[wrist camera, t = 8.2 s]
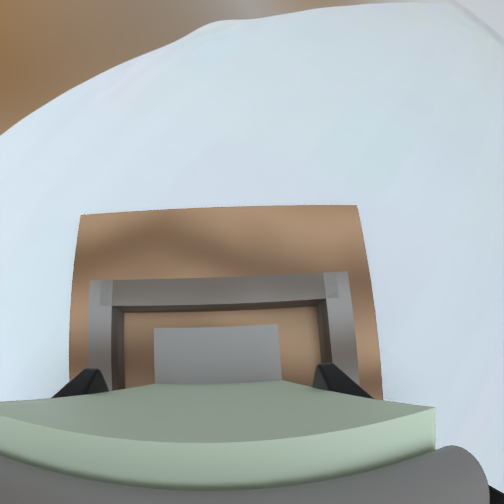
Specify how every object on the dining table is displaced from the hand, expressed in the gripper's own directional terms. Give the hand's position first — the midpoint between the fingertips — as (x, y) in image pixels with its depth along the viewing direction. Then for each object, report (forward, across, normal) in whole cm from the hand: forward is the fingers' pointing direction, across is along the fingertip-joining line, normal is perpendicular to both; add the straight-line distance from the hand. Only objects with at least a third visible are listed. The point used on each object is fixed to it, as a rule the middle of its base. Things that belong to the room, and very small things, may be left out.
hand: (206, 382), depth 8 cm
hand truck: (+4, 0, +6) cm, 7 cm away
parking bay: (+7, 0, +9) cm, 12 cm away
